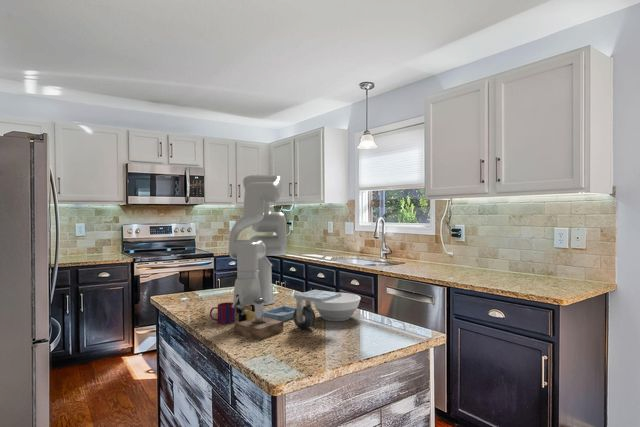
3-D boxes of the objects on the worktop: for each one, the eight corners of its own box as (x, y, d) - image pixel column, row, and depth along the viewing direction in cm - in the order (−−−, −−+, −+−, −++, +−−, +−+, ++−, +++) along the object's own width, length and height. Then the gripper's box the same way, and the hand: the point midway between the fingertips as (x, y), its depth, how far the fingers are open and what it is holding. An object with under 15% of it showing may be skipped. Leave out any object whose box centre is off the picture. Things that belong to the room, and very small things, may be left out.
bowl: (370, 317, 163) (370, 296, 163) (339, 327, 149) (339, 305, 149) (334, 309, 176) (333, 290, 176) (301, 318, 162) (301, 297, 162)
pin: (259, 330, 146) (259, 296, 146) (266, 331, 144) (266, 298, 144) (251, 332, 143) (251, 298, 143) (259, 334, 141) (258, 299, 141)
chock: (246, 323, 156) (246, 310, 156) (257, 325, 152) (257, 312, 152) (238, 325, 153) (238, 312, 153) (249, 328, 149) (249, 314, 149)
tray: (283, 311, 174) (283, 305, 174) (303, 314, 167) (303, 308, 167) (260, 318, 163) (260, 311, 163) (280, 322, 156) (280, 315, 156)
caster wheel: (307, 322, 156) (307, 288, 156) (341, 329, 146) (341, 293, 146) (287, 329, 146) (286, 293, 146) (321, 337, 137) (321, 299, 137)
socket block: (259, 325, 152) (259, 316, 152) (283, 331, 145) (283, 321, 145) (234, 333, 142) (234, 323, 142) (258, 339, 135) (258, 329, 135)
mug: (237, 322, 157) (237, 304, 157) (212, 326, 151) (212, 308, 151) (232, 318, 162) (231, 301, 162) (206, 322, 157) (206, 304, 157)
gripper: (257, 271, 162) (257, 316, 162) (223, 276, 148) (223, 326, 148) (270, 272, 157) (271, 319, 157) (237, 278, 143) (237, 330, 143)
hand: (247, 322), depth 153 cm, fingers open, 5 cm apart
